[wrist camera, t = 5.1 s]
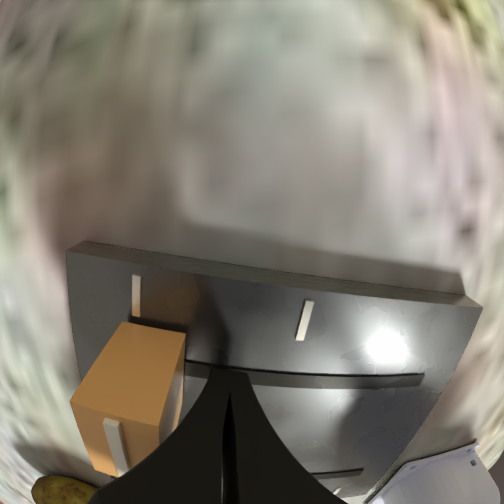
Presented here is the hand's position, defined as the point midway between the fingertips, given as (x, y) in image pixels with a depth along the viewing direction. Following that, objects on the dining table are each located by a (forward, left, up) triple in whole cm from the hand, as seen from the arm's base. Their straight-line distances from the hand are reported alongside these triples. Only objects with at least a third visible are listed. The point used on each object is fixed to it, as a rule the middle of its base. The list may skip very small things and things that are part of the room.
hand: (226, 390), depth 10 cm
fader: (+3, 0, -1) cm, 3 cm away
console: (-2, +4, -2) cm, 5 cm away
